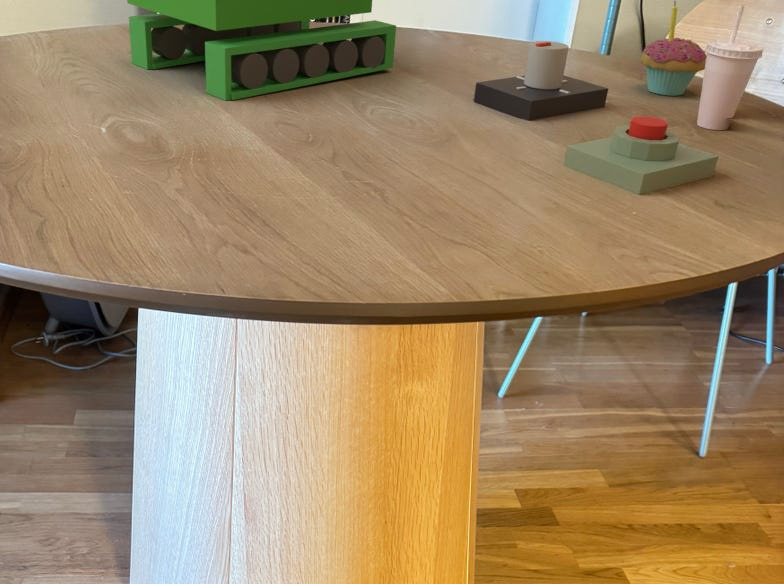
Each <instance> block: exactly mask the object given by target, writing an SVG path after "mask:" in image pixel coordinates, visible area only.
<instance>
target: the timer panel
mask: <svg viewBox="0 0 784 584" xmlns="http://www.w3.org/2000/svg"><path fill="white" fill-rule="evenodd" d="M524 78H525V75H520V76H519V75H517V76H513V77H512V76H511V77H505V78H497V79H491V80H484V81H476V83H475V89H474V96H473V102H474V103H477V104H479V105H482V106H485V107H488V108H489V109H493V110H496V111H499V112H501V113H505V114H507V115H510V116H513V117H516V118H519V119H521V120H525V121H528V122H530V121H536V120H542V119H547V118H552V117H553V118H554V117H557V116H564V115H569V114H576V113H581V112H586V111H587V112H588V111H592V110H597V109H603V108H605V107H606V102H607V98H608V93H609V88H608V87H605V86H601V85H598V84H595V83H592V82H587V81H584V80H581V79H578V78H574V77H571V76H568V75H565V74H564V75H563V81H562V86H561V88H558V89H551V90H547V89H537V88H532V87H529V86H526V85H525V84H524Z"/></svg>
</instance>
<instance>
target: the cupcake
mask: <svg viewBox="0 0 784 584" xmlns="http://www.w3.org/2000/svg"><path fill="white" fill-rule="evenodd" d="M676 4H677V1H676V0H673V6H672V8H671V15H670V24H669V31H668V32H669V33H668V38H666V37H664V38H662V39H658V40H657V39H656V40H654V41H653V42H651V43H649V44H647V46H646V47H645V46H644V49H643V50H642V53H641V58H640V63H641V64H642V65H643V66H645V71H646V77H647V78H646V79H647V90H648V91H649V92H651V93H653V94H656V95H661V96H669V97H670V96H671V97H677V96H681V95H684V93H685V91H686V89H687V88H688V86H689V85H690V83H691V82H692V80H693V79H694V77H695V75H697V73H699V72H701V71H705V63H706V57H707V52H706V51H705V50H704V49H702V48H701V46H700V45H699V44H698V43H696V42H694V41H693V40H691V39H685V38H679V37H675V30H676V24H677V23H676V22H677V15H678V6H677V5H676Z"/></svg>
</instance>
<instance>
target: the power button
mask: <svg viewBox="0 0 784 584" xmlns="http://www.w3.org/2000/svg"><path fill="white" fill-rule="evenodd" d="M629 125H630V128H629V132H628V135H630V136H633V137H635V138H639V139H645V140H664V137H665V133H666V130H668V125H669V123H668V122H667V121H666V120H664V119H662V118H658V117H653V116H647V115H646V116H645V115H642V116H641V115H639V116H634V117H632V118H631V120H630V124H629Z"/></svg>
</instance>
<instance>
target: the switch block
mask: <svg viewBox="0 0 784 584" xmlns="http://www.w3.org/2000/svg"><path fill="white" fill-rule="evenodd" d="M629 128H630V124H625V125H621V126H616V127H615V129H614V130H613V131H612V136H609V137H604V138H599V139H595V140H594V139H593V140H590V141H584V142H580V143H575V144H569V145H566V149H565V156H564V160H563V166H564V167H566V168H569V169H571V170H574V171H576V172H579V173H582V174H585V175H587V176H590V177H592V178H594V179H597V180H600V181H603V182H604V183H606V184H607V183H608V184H610V185H612V186H615V187H617V188H620V189H623V190H625V191H628V192H630V193H633V194H635V195H638V196H642V195H645V194H649V193H653V192H657V191H661V190H664V189H668V188H672V187H676V186H679V185H684V184H688V183H691V182H696V181H700V180H703V179H708V178H711V177H713V176H714V175H715V174H714V173H715V170H716V167H717V163H718V160H719V155H716V154H713V153H711V152H707V151H703V150H701V149H698V148H695V147H692V146H688V145H685V144H682V143H680V139H681V137H680V136H679V135H678V134H676V133H675V132H673V131H671V130H668V129H666V133H665V137H664V140H645V139H639V138H635V137H633V136H630V135H628V132H629Z"/></svg>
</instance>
